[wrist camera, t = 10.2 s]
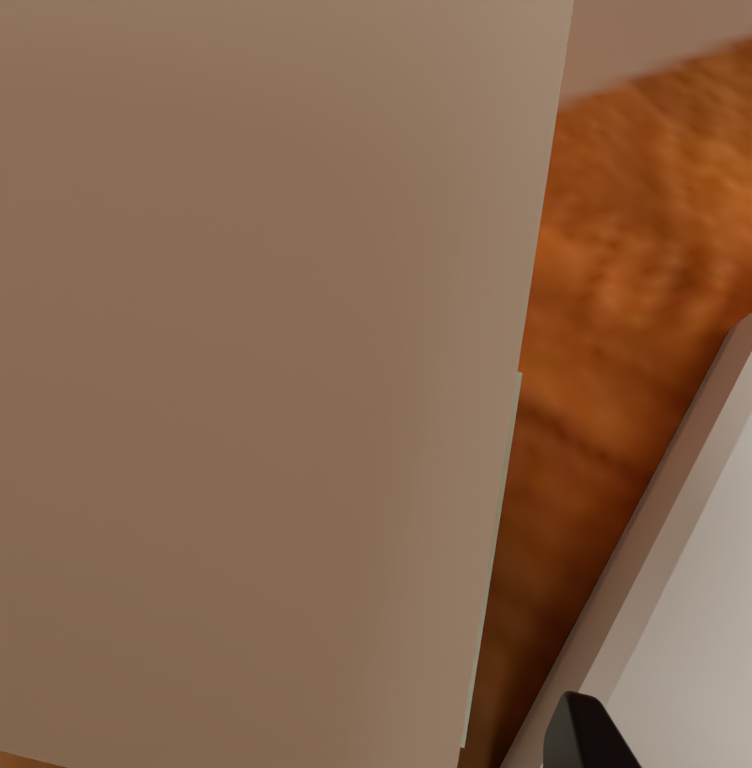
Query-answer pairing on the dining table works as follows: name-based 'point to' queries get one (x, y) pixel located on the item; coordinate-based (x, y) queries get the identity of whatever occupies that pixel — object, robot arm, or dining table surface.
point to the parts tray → (675, 596)
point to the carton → (259, 368)
